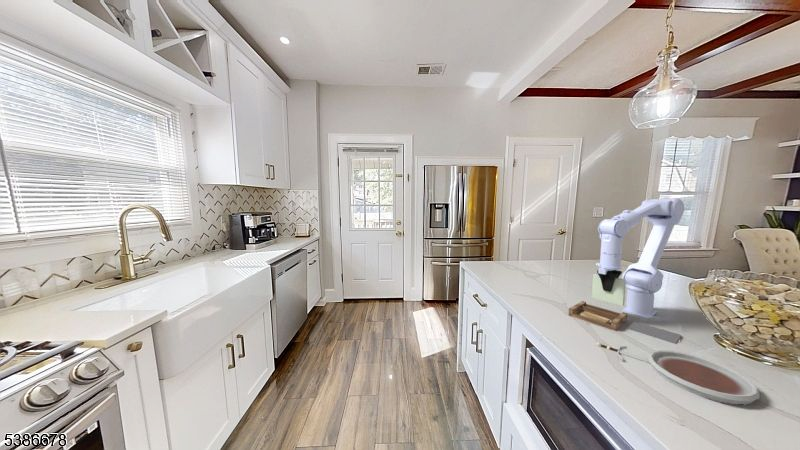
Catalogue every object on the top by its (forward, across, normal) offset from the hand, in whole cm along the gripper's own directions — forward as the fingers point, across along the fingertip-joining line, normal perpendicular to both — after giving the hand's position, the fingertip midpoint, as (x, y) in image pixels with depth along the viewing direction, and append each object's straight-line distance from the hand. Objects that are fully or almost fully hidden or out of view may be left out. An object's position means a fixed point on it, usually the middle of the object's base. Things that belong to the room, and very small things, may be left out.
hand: (608, 290), depth 90 cm
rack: (+10, +4, -2) cm, 11 cm away
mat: (+10, 0, +12) cm, 16 cm away
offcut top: (+10, +6, -2) cm, 12 cm away
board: (+4, 0, 0) cm, 4 cm away
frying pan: (+11, +21, +18) cm, 30 cm away
